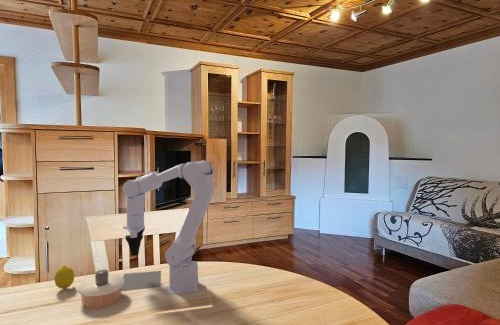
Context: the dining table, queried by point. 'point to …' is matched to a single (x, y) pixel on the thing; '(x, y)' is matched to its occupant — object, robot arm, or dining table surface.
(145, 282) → the mat
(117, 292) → the bowl
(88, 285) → the lid
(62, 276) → the lemon
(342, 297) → the dining table surface
